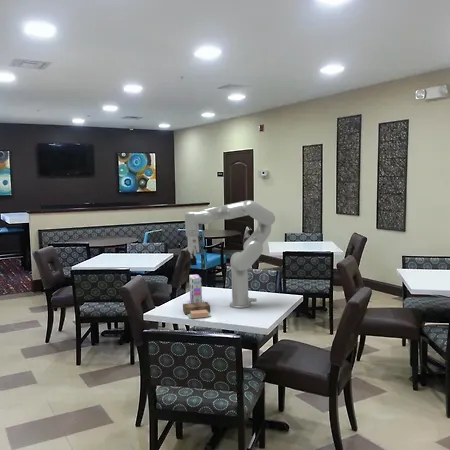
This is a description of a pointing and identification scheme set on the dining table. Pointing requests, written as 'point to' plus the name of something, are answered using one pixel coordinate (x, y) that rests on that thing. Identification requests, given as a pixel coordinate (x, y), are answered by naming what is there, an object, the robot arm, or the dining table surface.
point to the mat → (201, 317)
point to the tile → (199, 313)
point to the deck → (195, 307)
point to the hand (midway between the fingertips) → (193, 264)
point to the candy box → (195, 288)
